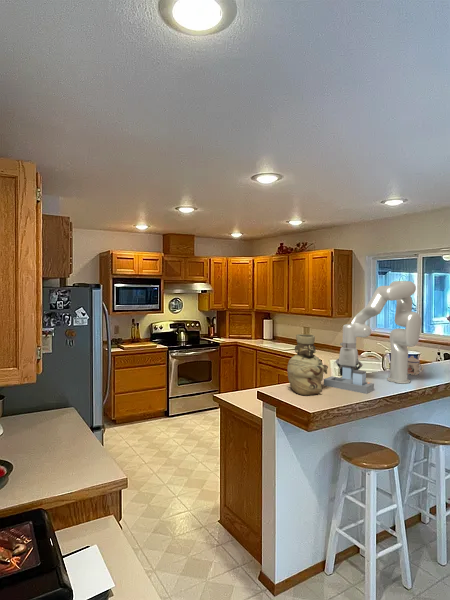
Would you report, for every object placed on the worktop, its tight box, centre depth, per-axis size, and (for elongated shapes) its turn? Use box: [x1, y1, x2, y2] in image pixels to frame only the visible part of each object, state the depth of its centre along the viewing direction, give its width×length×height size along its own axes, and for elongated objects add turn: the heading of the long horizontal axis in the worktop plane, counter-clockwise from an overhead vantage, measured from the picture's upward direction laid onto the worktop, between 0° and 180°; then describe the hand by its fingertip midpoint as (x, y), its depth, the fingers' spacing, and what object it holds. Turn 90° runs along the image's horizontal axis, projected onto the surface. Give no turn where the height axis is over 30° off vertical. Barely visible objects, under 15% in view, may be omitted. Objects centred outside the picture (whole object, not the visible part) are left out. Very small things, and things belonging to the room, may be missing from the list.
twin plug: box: [353, 369, 367, 385], centre depth 211 cm, size 5×5×10 cm
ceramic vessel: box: [286, 333, 329, 396], centre depth 211 cm, size 19×21×30 cm
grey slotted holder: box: [323, 375, 375, 395], centre depth 215 cm, size 10×24×5 cm, turn 49°
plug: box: [341, 365, 354, 380], centre depth 229 cm, size 5×5×10 cm
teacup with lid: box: [407, 355, 424, 376], centre depth 257 cm, size 12×9×12 cm
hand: (348, 376), depth 229 cm, fingers open, 7 cm apart
